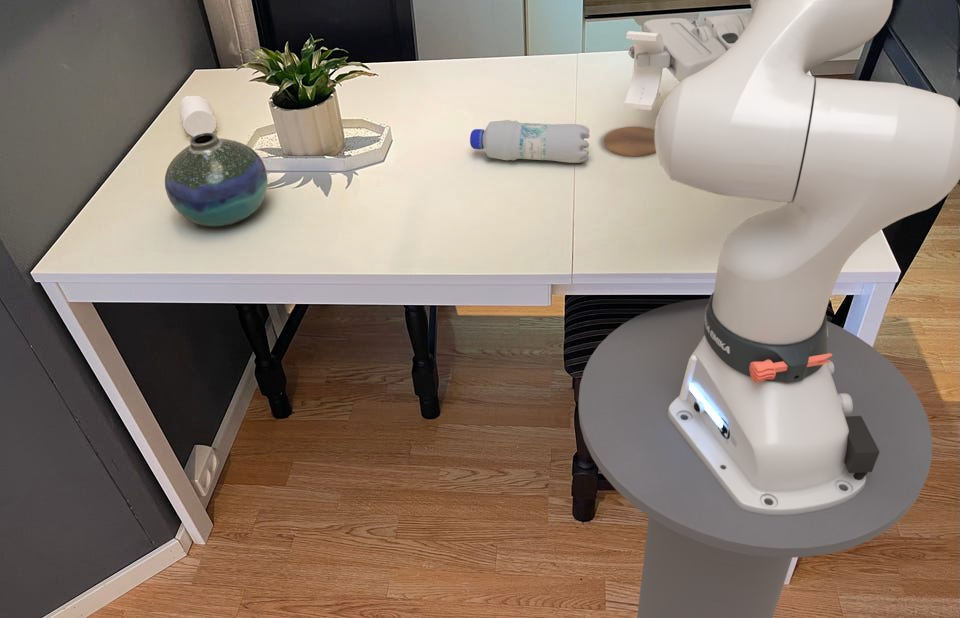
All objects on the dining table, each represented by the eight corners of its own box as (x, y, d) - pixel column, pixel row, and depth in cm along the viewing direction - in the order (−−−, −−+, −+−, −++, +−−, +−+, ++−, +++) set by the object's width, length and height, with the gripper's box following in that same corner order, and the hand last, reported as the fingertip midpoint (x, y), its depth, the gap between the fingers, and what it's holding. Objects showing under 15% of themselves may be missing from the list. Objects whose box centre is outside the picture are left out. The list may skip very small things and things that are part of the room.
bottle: (586, 173, 131) (468, 166, 135) (589, 146, 135) (475, 141, 139) (586, 141, 126) (464, 135, 129) (590, 114, 130) (471, 109, 133)
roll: (211, 109, 158) (202, 83, 155) (220, 133, 150) (211, 106, 146) (180, 116, 157) (171, 89, 153) (187, 141, 148) (178, 113, 144)
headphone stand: (623, 107, 127) (626, 33, 120) (634, 92, 132) (637, 19, 124) (651, 110, 126) (656, 35, 118) (661, 94, 130) (666, 21, 122)
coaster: (671, 151, 133) (671, 149, 132) (613, 160, 132) (613, 158, 132) (651, 125, 140) (651, 123, 140) (596, 133, 140) (596, 131, 139)
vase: (293, 196, 130) (275, 122, 121) (236, 248, 119) (211, 170, 111) (219, 182, 135) (196, 110, 127) (158, 230, 124) (128, 155, 116)
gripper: (693, 4, 133) (614, 14, 132) (745, 48, 118) (656, 61, 117) (690, 41, 137) (613, 51, 136) (739, 88, 122) (653, 100, 121)
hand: (633, 56), depth 126 cm, fingers closed on headphone stand, 2 cm apart
